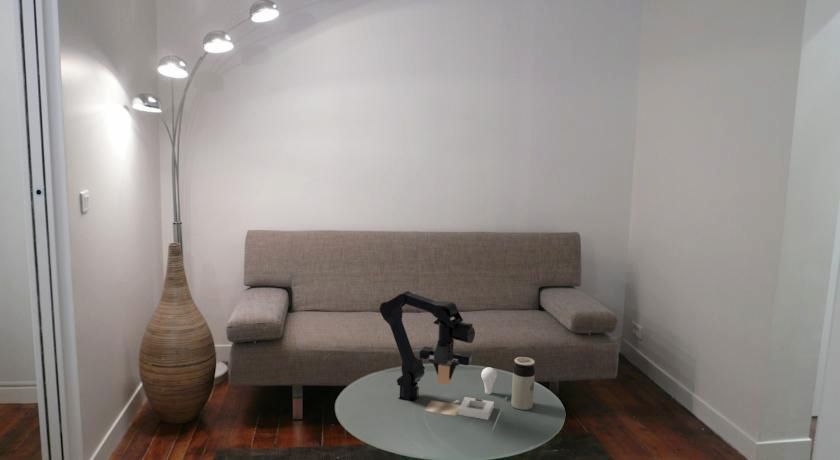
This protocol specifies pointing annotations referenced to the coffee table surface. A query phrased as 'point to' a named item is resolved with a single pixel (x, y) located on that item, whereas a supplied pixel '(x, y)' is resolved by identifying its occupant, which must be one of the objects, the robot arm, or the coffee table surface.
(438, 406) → the tray slab
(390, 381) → the coffee table surface
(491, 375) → the lightbulb
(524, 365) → the travel mug
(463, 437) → the coffee table surface
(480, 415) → the socket block
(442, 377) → the plug
